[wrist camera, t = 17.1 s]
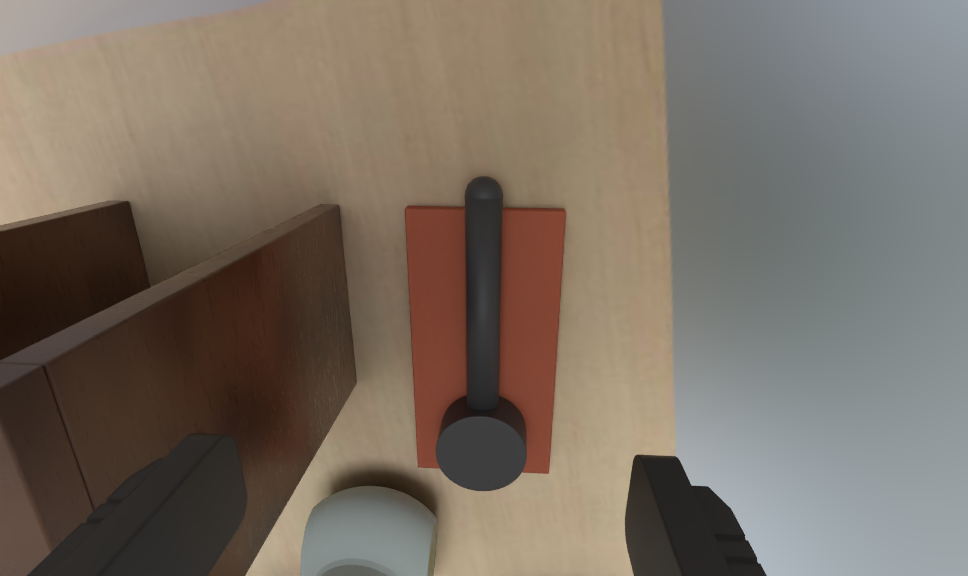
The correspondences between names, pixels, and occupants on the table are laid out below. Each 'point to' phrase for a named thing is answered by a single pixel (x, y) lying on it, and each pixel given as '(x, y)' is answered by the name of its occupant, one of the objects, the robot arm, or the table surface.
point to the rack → (161, 367)
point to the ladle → (482, 362)
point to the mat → (523, 319)
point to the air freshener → (369, 535)
